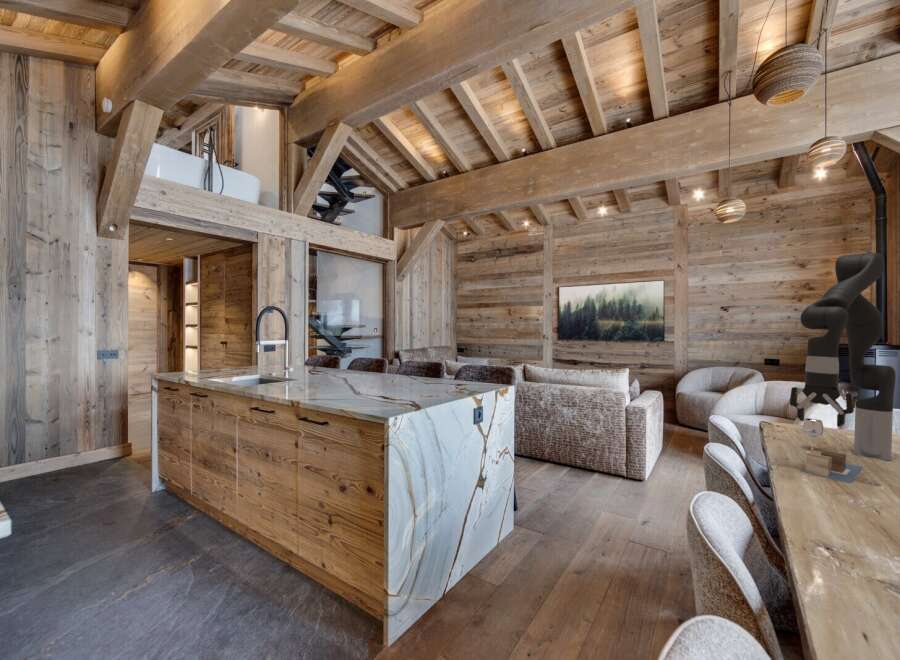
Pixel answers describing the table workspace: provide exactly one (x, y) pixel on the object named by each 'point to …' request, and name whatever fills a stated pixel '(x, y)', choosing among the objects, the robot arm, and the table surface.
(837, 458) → the walnut block
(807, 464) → the maple block
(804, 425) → the wineglass
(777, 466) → the table surface
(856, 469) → the board
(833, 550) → the table surface
